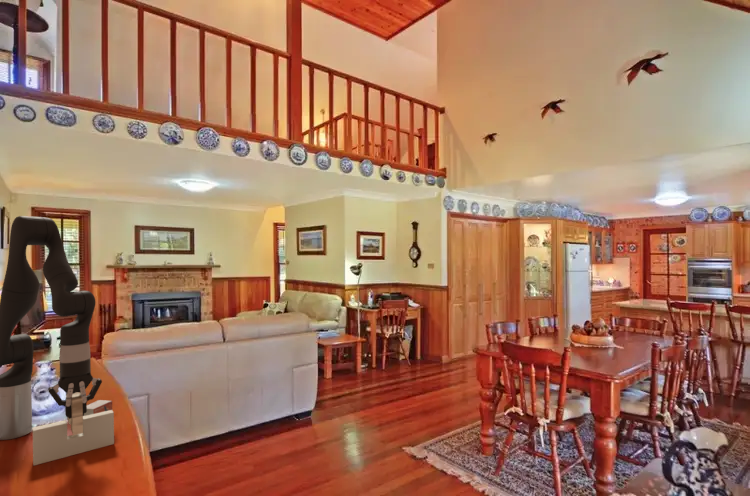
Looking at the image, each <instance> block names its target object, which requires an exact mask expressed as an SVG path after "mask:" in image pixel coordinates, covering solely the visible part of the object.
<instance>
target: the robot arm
mask: <svg viewBox="0 0 750 496" xmlns="http://www.w3.org/2000/svg"><path fill="white" fill-rule="evenodd" d="M28 246H45V247H46V248H47V249H48V253H47V256H46V258H45V261H44V263H43V266H42V273H43V276H44V278H45V280H46V282H47V285H48V286H49V288H50V294H51V309H52V311H53V313H55V315H57V316H58V317H62V318H63V317H64V318H65V317H72V316H76V318H75V319H74V320H73V321H72V322H69V323H66V324H64V325H62V326H61V327H60V328H59V329H60V332H59V337H60V338H59V339H60V340H59V341H60V343H59V344H60V345H59V346H60V347H59V358H58V359H59V379H58V381H57V384H55V385H53V386H50V387H48V388H47V390H48V393H49V394H50V396H51V397H52V398H53V400H54V401H55V402H56V404H57V405H58V407H61V406H63V407H64V408H65V417H66V418H67V417H68V418H69V419H70V418H72V408H71V398H72V394H74V393H76V392H79V393H80V395H81V397H82V402H83V416H84V413H86V412H87V405H88V404H87V403H88V401H91V400H93V399H94V398H95V396H96V395H97V393H98V391H99V389H100V387H101V385H102V383H103V380H102V379H101V378H100V377H93V375H92V372H91V371H92V370H91V369H92V368H91V364H92V363H91V346H90V325H91V322H92V318H93V315H94V311H95V308H96V303H97V302H96V298H95V295H94V294H93V293H92V292H91V291H89V290H77V291H74V290H75V289H77V287H78V285H79V281H78V280H79V279H78V277H77V276H76V274H75V272H74V270H73V269H72V267H71V265H70V263H69V261H68V258H67V255H66V252H65V251H66V250H65V248H64V243H63V240H62V238H61V233H60V230H59V228H58V225H57V223H56V222H55V221H54V220H53V219H52V218H49V217H43V216H32V215H31V216H27V215H19V216H16V217H15V218H14V219H13V221H12V224H11V227H10V235H9V247H8V257H7V263H6V270H5V273H4V274H5V275H4V279H3V282H2V288H1V294H0V367H1V366H7V365H12V366H11V367H10V368H9V369H8V370H6V371H4V372H3V373H1V374H0V441H3V440H4V441H5V440H11V439H12V440H13V439H16V438H20V437H23V436H25V435H27V434H29V433H31V432H33V416H32V415H33V413H32V412H33V410H32V409H33V408H32V405H33V403H32V401H33V399H32V397H33V395H32V375H33V370H34V369H33V368H34V367H33V365H34V342H33V338H32V337H31V336H30V335H29V334H27V333H20V334H15V335H12V334H13V332H14V330H15V327H16V326H17V325H18V324H19V322H20V321H21V320H23V318H24V317H25V316H26V315H28V313H29V312H30V311H31V310H32V309H33V307H34V306H35V304H36V303H37V300H38V295H39V289H40V279H39V278H38V276H37V274H36V272H35V271H34V269H33V268H32V267H31V265H30V264H29V261H28V258H27V247H28ZM90 384H91V385H92V387H91V390H90V391H89V392H88V394H87V392H86V390H87V388H88V387H89V386H90ZM59 388H60V389H62V390H63V392H65V400H64V399H62V398H61V396H60V395H59V391H60V390H59Z"/></svg>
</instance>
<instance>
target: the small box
mask: <svg viewBox="0 0 750 496" xmlns="http://www.w3.org/2000/svg"><path fill="white" fill-rule="evenodd" d="M109 410H112V411H113V400H105V399H104V400H103V399H97V400H96V401H94V402H91V403H90V404H87V412H86V413H84V416H87V415H91V414H95V413H100V412H104V411H109Z"/></svg>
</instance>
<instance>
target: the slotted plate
mask: <svg viewBox="0 0 750 496" xmlns="http://www.w3.org/2000/svg"><path fill="white" fill-rule="evenodd" d="M71 408H72V418H70V419H69V418H68V417H66V418H67V419H66V420H67V423H68V425H70V431H71V433H72V434H71V435H77V434H81V433H83V402H82V397H81V395H80V392H76V393H74V394H72V398H71Z"/></svg>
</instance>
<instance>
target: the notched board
mask: <svg viewBox="0 0 750 496" xmlns="http://www.w3.org/2000/svg"><path fill="white" fill-rule="evenodd" d="M114 413H115V412H114V411H113V409H112V410H109V411H104V412H100V413H95V414H91V415H87V416H83V433H81V434H77V435H73V434H70V435H68V420H67V419H65V420H61V421H56V422H52V423H51V422H50V423H46V424H43V425H38V426H34V427H33V426H32V463H33V466H37V465H40V464H44V463H48V462H51V461H56V460H60V459H64V458H67V457H70V456H73V455H78V454H82V453H85V452H89V451H92V450H97V449H101V448H104V447H108V446H111V445H115V421H114V420H115V419H114V417H115V415H114Z"/></svg>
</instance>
